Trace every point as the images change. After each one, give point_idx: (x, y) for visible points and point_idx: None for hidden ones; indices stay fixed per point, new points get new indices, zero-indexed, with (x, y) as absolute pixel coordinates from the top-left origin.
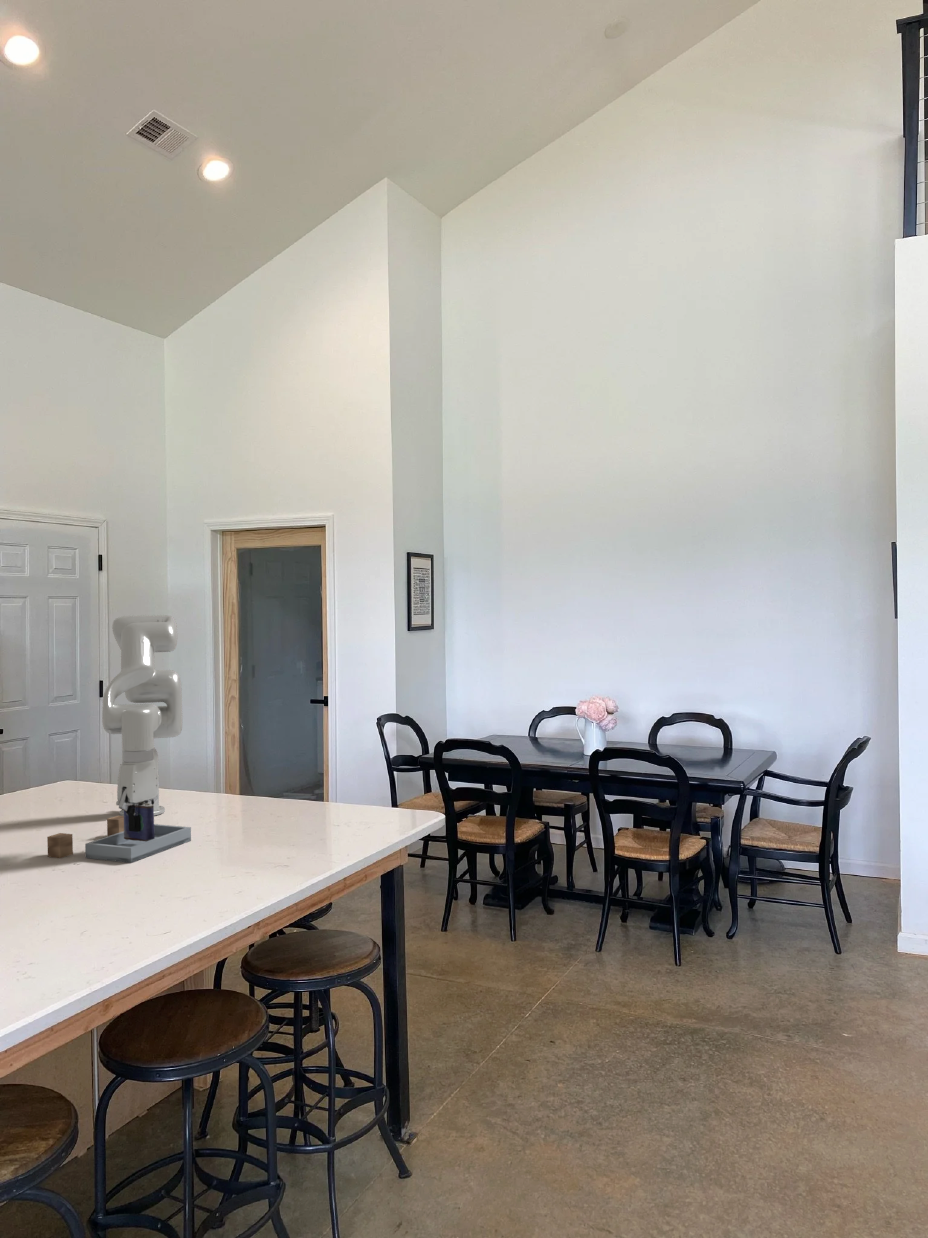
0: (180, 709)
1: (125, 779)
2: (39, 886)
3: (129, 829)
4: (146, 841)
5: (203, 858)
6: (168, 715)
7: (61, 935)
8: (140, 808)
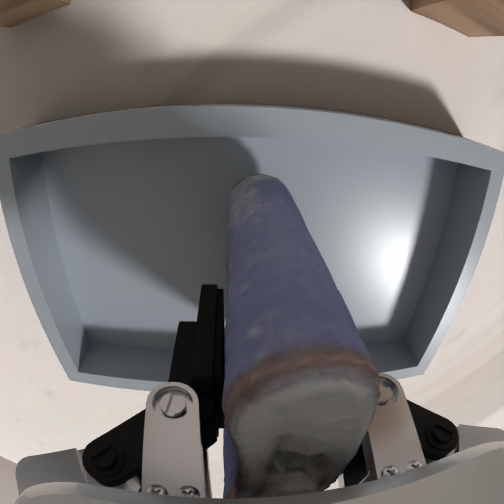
0: None
1: None
2: None
3: (202, 292)
4: (166, 382)
5: (223, 442)
6: None
7: None
8: (234, 481)
